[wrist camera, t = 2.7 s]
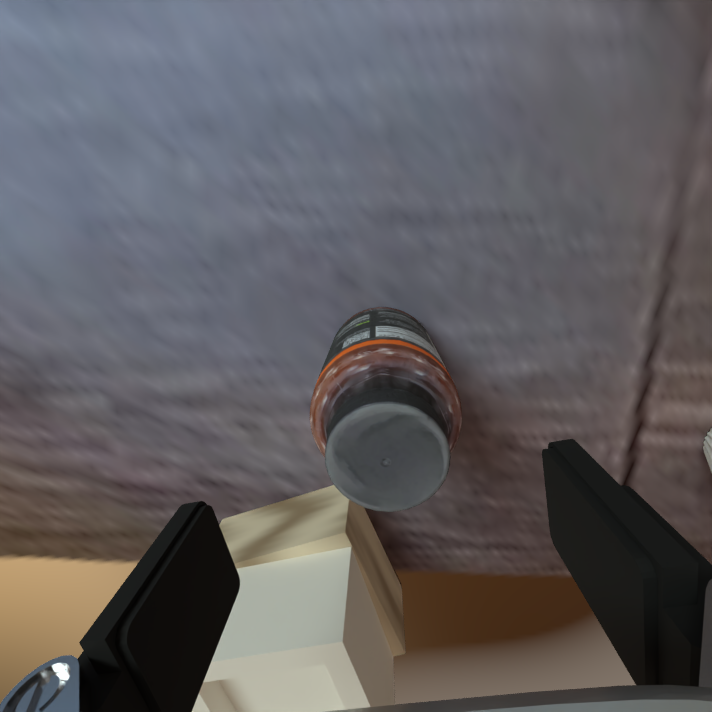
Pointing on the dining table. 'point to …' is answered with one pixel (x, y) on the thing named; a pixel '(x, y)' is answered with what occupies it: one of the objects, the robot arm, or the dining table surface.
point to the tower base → (321, 546)
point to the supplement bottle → (385, 412)
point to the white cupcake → (708, 448)
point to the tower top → (300, 641)
